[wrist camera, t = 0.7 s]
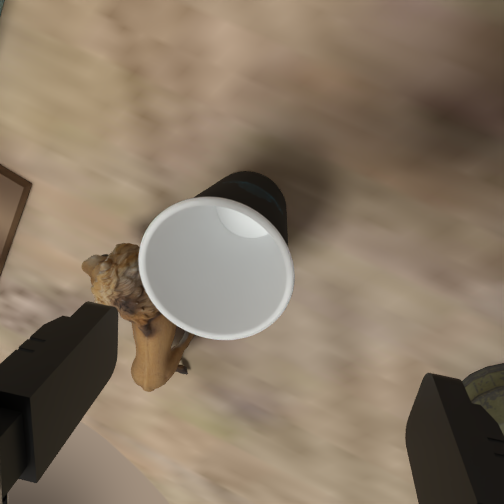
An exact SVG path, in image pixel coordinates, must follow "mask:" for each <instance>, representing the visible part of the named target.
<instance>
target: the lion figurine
mask: <svg viewBox="0 0 504 504" xmlns="http://www.w3.org/2000/svg"><path fill="white" fill-rule="evenodd" d="M139 249H140V247H139V246H138V245H134V244H130V243H127V244H126V243H122V244H117V245H116V247H115V249H114V250H113V252H112V253H110V254H109V255H108V254H104V255H101V256H100V255H93V256H91V257H90V258H88V259H87V260H86V261H84V262H83V263H82V269H83V271H84V272H85V273H87V274H88V275H89V276H90V277H91V284H92V285H93V286H92V287H91V291H92V293H93V294H94V298H95V303H99V304H103V305H108V306H113V307H116V308H117V310H118V312H119V313H120V316H121V317H122V318H123V319H125V320H128V321H130V322H132V328H133V335H134V339H135V344H136V358H135V359H134V361H133V364H132V368H131V374H132V377H133V379H134V381H135V383H136V384H137V385H139V386H141V387H142V388H143V390H145V391H147V392H151V391H153V390H154V389H156V388H159V387H161V386H162V385H164V384H165V383H166V382H167V381H168V380H169V379H170V378H171V377H172V375H173V374H174V372H179V373H182V374H188V372H187V368H186V367H185V366H183V365H179V362H180V360H181V357H182V355H183V352H184V350H185V349H186V348H187V347H188V345H189V343H190V341H191V339H192V338H193V336H194V335H195V334H192V333H190V332H188V331H185V333H184V335H183V337H182V339H181V340H180V342H179V344H178V345H176V346H174V347H173V348H172V349H171V345H172V342H173V339H174V335H175V331H176V325H175V324H174V323H172V322H171V321H170V320H168V319H167V318H166V317H165V316H164V315H163V314H162V313H161V312H160V311H159V310H158V309H157V308H156V306H155V305H154V304H153V303H152V301H151V300H150V298H149V296H148V295H147V293H146V291H145V288H144V286H143V283H142V280H141V277H140V272H139V261H138V258H139Z"/></svg>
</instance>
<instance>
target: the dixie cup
mask: <svg viewBox="0 0 504 504" xmlns="http://www.w3.org/2000/svg"><path fill="white" fill-rule="evenodd" d="M138 261H139V272H140V277H141V280H142V283H143V286H144V288H145V291H146V293H147V295H148V296H149V298H150V300H151V301H152V303H153V304H154V305H155V306H156V308H157V309H158V310H159V311H160V312H161V313H162V314H163V315H164V316H165V317H166V318H167V319H168V320H170V321H171V322H172V323H174V324H175V325H177V326H178V327H180V328H182V329H184V330H185V331H188V332H190V333H192V334H195V335H198V336H201V337H205V338H209V339H216V340H235V339H241V338H245V337H249V336H252V335H255V334H257V333H259V332H261V331H263V330H264V329H266V328H267V327H269V326H270V325H272V324H273V323H274V322H275V321H276V320H277V319H278V318H279V317H280V316H281V314H282V313H283V311H284V310H285V309H286V307H287V305H288V303H289V301H290V298H291V296H292V292H293V288H294V278H295V275H294V265H293V260H292V257H291V253H290V251H289V248H288V233H287V212H286V203H285V199H284V196H283V194H282V192H281V191H280V189H279V188H278V186H277V185H276V184H275V183H274V182H273V181H271V180H270V179H269V178H267V177H266V176H264V175H261V174H259V173H255V172H247V171H244V172H237V173H233V174H231V175H229V176H227V177H225V178H224V179H222V180H220V181H219V182H217V183H216V184H214V185H213V186H211V187H209V188H208V189H206V190H205V191H203V192H202V193H200V194H198V195H197V196H195V197H194V198H191V199H187V200H183V201H181V202H178V203H176V204H174V205H172V206H170V207H168V208H167V209H165V210H164V211H162V212H161V213H160V214H159V215H158V216H157V217H156V218H155V219H154V220H153V221H152V222H151V224H150V225H149V226H148V228H147V230H146V231H145V234H144V236H143V238H142V241H141V245H140V249H139V258H138Z"/></svg>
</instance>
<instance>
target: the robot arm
mask: <svg viewBox="0 0 504 504" xmlns="http://www.w3.org/2000/svg"><path fill="white" fill-rule="evenodd" d="M117 348H118V310H117V308H116V307H113V306H108V305H103V304H99V303H94V302H89V301H88V302H86V303H84V304H83V305H82V306H81V307H80V308H79V309H78V310H77V311H76V312H75V313H74V314H73V315H72V316H71V317H67V316H61V317H59V318H57V319H55V320H53V321H51V322H48V323H46V324H44V325H43V326H42V327H41V328H40V329H38V330H37V331H36V332H35V333H34V334H33V335H32V336H31V337H30V339H29V340H28V339H27V340H26V341H25V342H24V343H23V344H22V345H21V346H20V347H19V349H18V350H15V351H14V352H13V353H12V354H11V355H10V356H8V357H7V358H6V359H5V360H4V361H3V362H2V363H1V364H0V504H9V499H8V492H9V490H10V489H11V488H12V486H13V485H14V483H15V482H16V481H17V480H18V479H22V480H26V481H30V482H34V483H37V482H38V481H39V479H40V478H41V477H42V475H43V474H44V472H45V471H46V469H47V468H48V466H49V465H50V464H51V462H52V461H53V459H54V458H55V457H56V455H57V454H58V452H59V451H60V449H61V448H62V446H63V445H64V444H65V442H66V441H67V439H68V438H69V436H70V435H71V433H72V432H73V431H74V429H75V428H76V426H77V425H78V424H79V422H80V421H81V419H82V418H83V416H84V415H85V414H86V412H87V411H88V409H89V408H90V406H91V405H92V404H93V402H94V401H95V399H96V398H97V396H98V395H99V394H100V392H101V391H102V389H103V388H104V386H105V385H106V384H107V382H108V381H109V379H110V378H111V376H112V374H113V371H114V368H115V365H116V361H117ZM405 438H406V448H407V452H408V457H409V461H410V466H411V470H412V475H413V480H414V484H415V489H416V493H417V498H418V502H419V504H504V435H503V433H502V431H501V429H500V427H499V425H498V423H497V422H496V421H495V420H494V418H493V417H492V416H491V415H490V414H489V413H488V412H487V411H486V410H485V409H484V408H483V407H482V406H481V405H479V404H474V403H471V400H470V398H469V396H468V394H467V391H466V389H465V387H464V385H463V383H462V381H461V380H460V379H456V378H451V377H446V376H442V375H437V374H432V373H427V374H426V375H425V376H424V378H423V380H422V383H421V385H420V388H419V391H418V394H417V396H416V399H415V402H414V404H413V407H412V410H411V412H410V415H409V418H408V421H407V426H406V437H405Z"/></svg>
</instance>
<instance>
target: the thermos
mask: <svg viewBox="0 0 504 504" xmlns="http://www.w3.org/2000/svg"><path fill="white" fill-rule="evenodd" d="M462 383H463V385H464V387H465V389H466V391H467V394H468V396H469V398H470V400H471V403H474V404H479V405H481V406H482V407H483V408H484V409H485V410H486V411H487V412H488V413H489V414H490V415H491V416H492V417H493V418H494V420H495V421H496V422H497V423H498V425H499V427H500V429H501V431H502V433H503V435H504V364H499V365H494V366H489V367H485V368H483V369H481V370H479V371H477V372H475V373H473V374H470V375H469V376H468V377H467V378H466V379H464V380H463V381H462Z"/></svg>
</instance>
